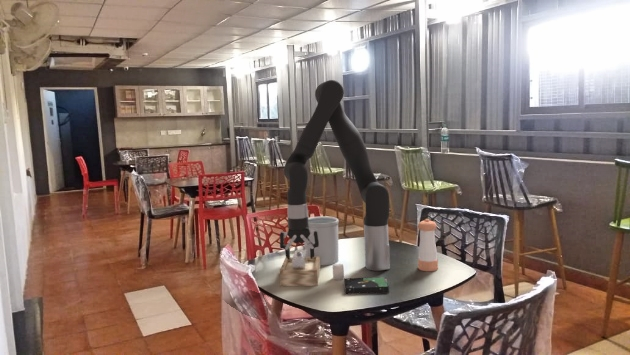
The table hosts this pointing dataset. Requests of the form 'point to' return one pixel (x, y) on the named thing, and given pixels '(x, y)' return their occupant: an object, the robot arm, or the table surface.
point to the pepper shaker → (427, 246)
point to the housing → (300, 260)
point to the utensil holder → (324, 239)
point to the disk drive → (366, 285)
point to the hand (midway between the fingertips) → (300, 258)
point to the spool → (338, 272)
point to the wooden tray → (300, 273)
